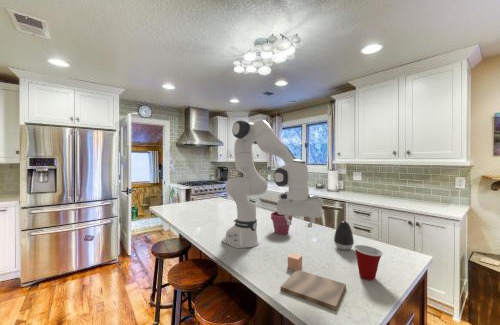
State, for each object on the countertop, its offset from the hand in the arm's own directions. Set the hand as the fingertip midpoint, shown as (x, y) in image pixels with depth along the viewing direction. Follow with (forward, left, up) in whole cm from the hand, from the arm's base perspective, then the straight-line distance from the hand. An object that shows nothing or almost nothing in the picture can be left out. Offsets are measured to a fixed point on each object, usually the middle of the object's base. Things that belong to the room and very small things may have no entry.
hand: (299, 225), depth 101 cm
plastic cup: (+27, +10, -20) cm, 35 cm away
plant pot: (-29, +42, -20) cm, 55 cm away
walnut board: (+11, -12, -20) cm, 25 cm away
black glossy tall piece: (+12, +37, -20) cm, 44 cm away
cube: (-2, +1, -20) cm, 20 cm away
